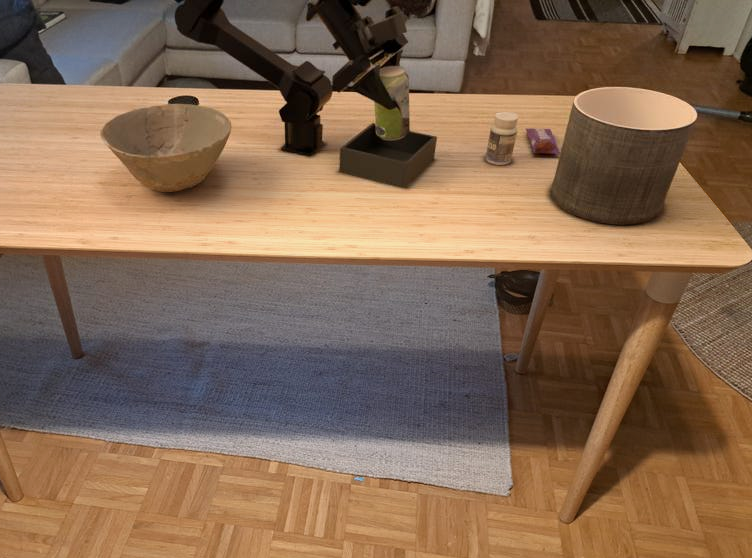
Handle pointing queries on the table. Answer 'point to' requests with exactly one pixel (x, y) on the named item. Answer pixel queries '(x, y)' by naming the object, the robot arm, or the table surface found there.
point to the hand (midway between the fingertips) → (399, 102)
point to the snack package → (542, 141)
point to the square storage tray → (387, 156)
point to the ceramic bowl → (168, 143)
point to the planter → (621, 154)
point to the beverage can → (396, 119)
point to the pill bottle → (502, 138)
